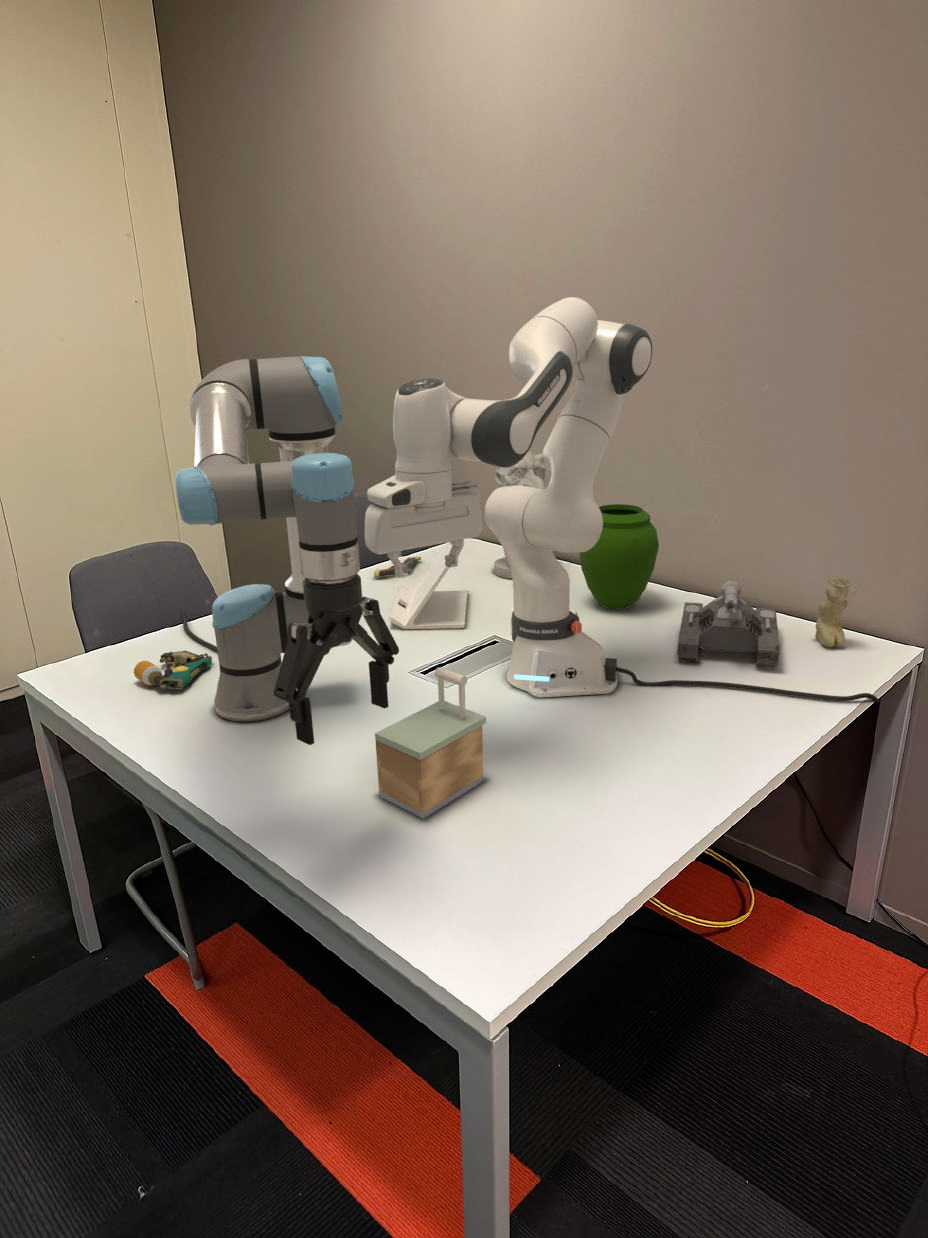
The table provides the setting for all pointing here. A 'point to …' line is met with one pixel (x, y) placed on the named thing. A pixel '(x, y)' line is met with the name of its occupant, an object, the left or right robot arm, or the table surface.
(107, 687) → the table surface
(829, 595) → the sculpture
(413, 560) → the toy gun
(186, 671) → the spray gun
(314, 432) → the left robot arm
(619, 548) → the vase
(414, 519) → the right robot arm
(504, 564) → the bust sculpture
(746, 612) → the toy
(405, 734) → the lid
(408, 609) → the tablet stand
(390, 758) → the chest
